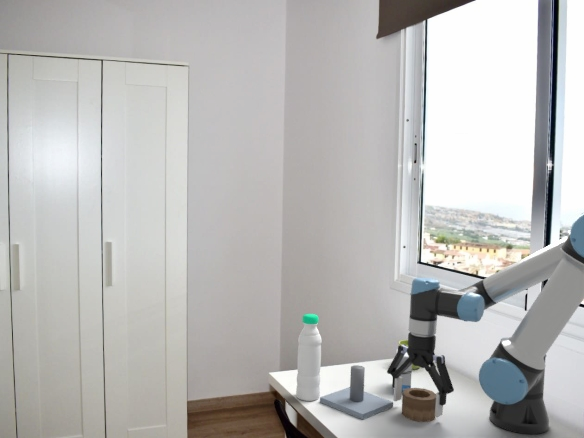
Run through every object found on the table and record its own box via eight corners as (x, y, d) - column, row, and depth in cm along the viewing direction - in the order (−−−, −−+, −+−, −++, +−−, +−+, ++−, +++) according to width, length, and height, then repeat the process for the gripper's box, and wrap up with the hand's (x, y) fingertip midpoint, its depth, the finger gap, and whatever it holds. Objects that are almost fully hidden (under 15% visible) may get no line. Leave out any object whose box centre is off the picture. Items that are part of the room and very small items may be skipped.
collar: (441, 415, 155) (442, 394, 154) (423, 424, 148) (424, 402, 148) (413, 405, 161) (414, 385, 161) (395, 413, 155) (396, 392, 155)
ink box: (410, 394, 171) (412, 357, 170) (394, 392, 172) (396, 355, 171) (410, 385, 179) (412, 349, 178) (395, 383, 180) (396, 348, 179)
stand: (393, 406, 160) (394, 369, 159) (362, 419, 150) (364, 380, 150) (350, 391, 171) (352, 356, 171) (319, 402, 162) (321, 365, 161)
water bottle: (324, 397, 165) (327, 315, 164) (308, 403, 160) (311, 318, 159) (306, 391, 170) (309, 311, 169) (291, 397, 165) (294, 314, 164)
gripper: (470, 341, 147) (464, 419, 149) (393, 322, 165) (388, 391, 167) (455, 346, 142) (450, 426, 143) (378, 325, 160) (373, 396, 161)
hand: (417, 407), depth 155 cm, fingers open, 13 cm apart
